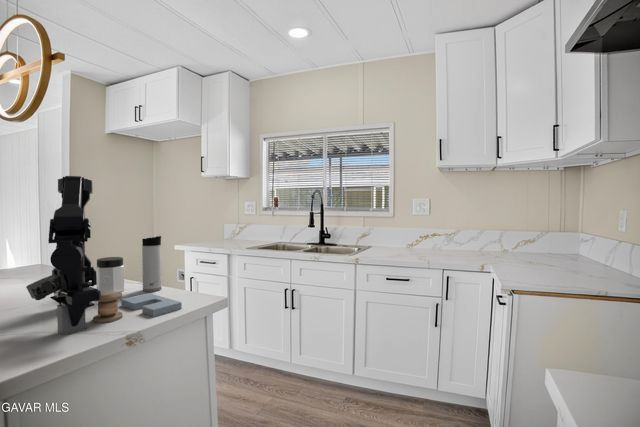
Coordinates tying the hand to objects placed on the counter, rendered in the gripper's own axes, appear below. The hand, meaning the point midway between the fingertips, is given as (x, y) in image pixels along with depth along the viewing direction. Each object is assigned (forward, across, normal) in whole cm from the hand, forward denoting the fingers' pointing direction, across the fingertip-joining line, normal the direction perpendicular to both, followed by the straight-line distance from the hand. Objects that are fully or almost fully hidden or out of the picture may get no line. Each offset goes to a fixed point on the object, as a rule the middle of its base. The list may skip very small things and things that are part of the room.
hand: (71, 324), depth 87 cm
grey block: (+2, 0, 0) cm, 2 cm away
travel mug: (+2, -21, +34) cm, 40 cm away
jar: (+2, -31, +24) cm, 39 cm away
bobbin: (+2, -2, +10) cm, 10 cm away
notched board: (+2, -2, +22) cm, 22 cm away
